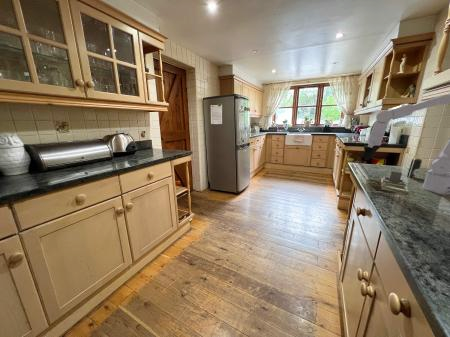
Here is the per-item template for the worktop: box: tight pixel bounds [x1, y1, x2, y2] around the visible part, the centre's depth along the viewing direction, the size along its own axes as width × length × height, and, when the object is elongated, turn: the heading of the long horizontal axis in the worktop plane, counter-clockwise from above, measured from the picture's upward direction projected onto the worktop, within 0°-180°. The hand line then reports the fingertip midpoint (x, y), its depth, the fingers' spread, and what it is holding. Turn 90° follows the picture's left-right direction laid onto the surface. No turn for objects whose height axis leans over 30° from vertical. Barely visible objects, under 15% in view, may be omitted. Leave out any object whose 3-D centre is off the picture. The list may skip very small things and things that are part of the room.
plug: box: [388, 169, 403, 183], centre depth 96 cm, size 4×4×6 cm
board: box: [380, 176, 410, 196], centre depth 92 cm, size 21×10×2 cm, turn 141°
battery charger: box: [406, 157, 423, 179], centre depth 106 cm, size 7×4×11 cm, turn 129°
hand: (367, 158), depth 104 cm, fingers open, 7 cm apart
